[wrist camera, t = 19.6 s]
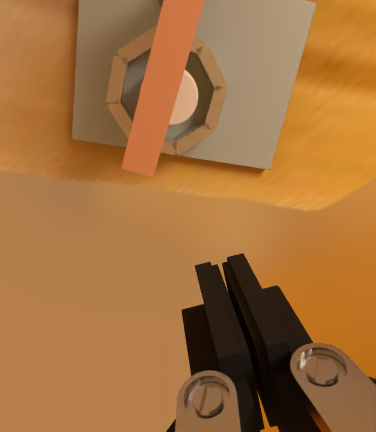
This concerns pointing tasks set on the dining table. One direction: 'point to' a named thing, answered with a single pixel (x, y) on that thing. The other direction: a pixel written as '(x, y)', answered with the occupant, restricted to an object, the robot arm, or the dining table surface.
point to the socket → (211, 106)
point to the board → (198, 72)
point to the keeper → (161, 84)
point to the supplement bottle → (184, 100)
